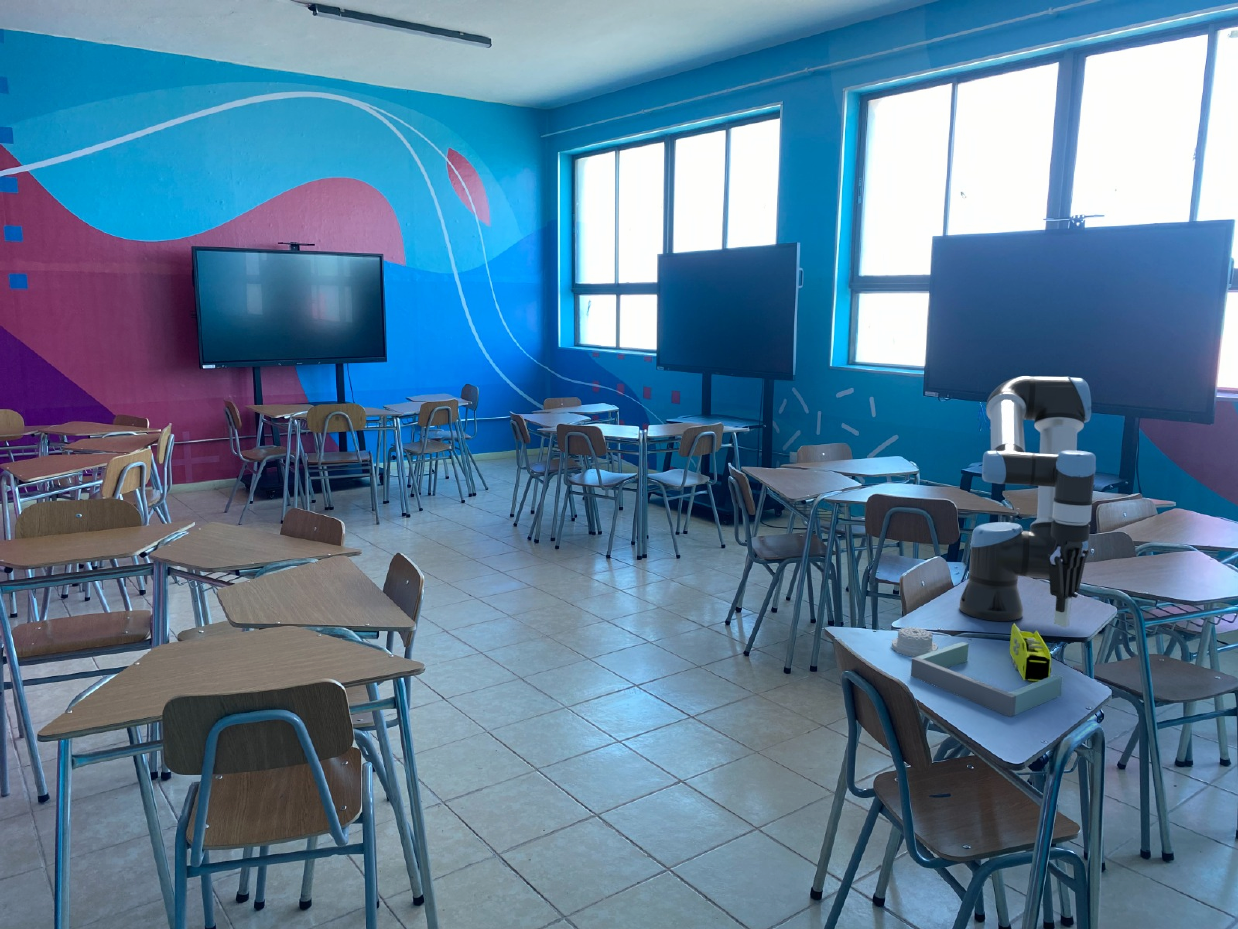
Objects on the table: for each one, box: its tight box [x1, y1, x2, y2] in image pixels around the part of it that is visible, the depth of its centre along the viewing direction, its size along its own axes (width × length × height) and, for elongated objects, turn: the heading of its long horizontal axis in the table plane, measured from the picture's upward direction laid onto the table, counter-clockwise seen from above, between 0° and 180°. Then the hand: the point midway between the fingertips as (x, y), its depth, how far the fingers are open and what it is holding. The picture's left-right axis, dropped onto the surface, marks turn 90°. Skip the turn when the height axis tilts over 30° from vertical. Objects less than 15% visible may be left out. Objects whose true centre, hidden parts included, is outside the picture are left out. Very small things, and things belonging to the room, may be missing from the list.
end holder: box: [910, 641, 1064, 718], centre depth 180 cm, size 18×23×4 cm
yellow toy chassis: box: [1009, 622, 1052, 683], centre depth 188 cm, size 16×6×8 cm, turn 166°
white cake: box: [891, 626, 939, 658], centre depth 200 cm, size 10×4×10 cm
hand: (1061, 624), depth 194 cm, fingers closed
